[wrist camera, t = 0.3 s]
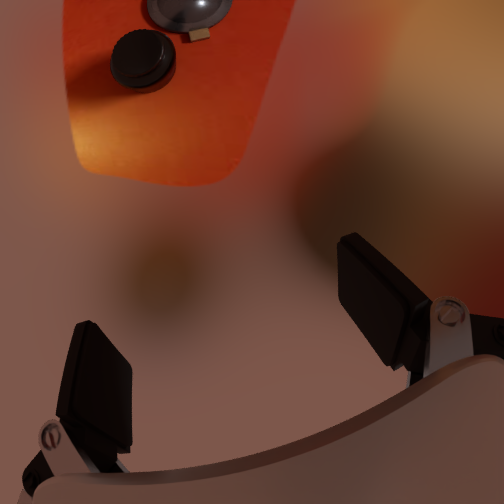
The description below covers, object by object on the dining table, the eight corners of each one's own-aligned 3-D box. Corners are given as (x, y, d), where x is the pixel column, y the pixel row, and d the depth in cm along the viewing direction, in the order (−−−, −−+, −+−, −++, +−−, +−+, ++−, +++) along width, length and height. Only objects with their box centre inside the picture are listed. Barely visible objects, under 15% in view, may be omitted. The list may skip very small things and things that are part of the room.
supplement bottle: (122, 95, 27) (95, 89, 17) (128, 47, 24) (105, 22, 14) (173, 93, 29) (170, 85, 19) (180, 45, 26) (180, 17, 16)
